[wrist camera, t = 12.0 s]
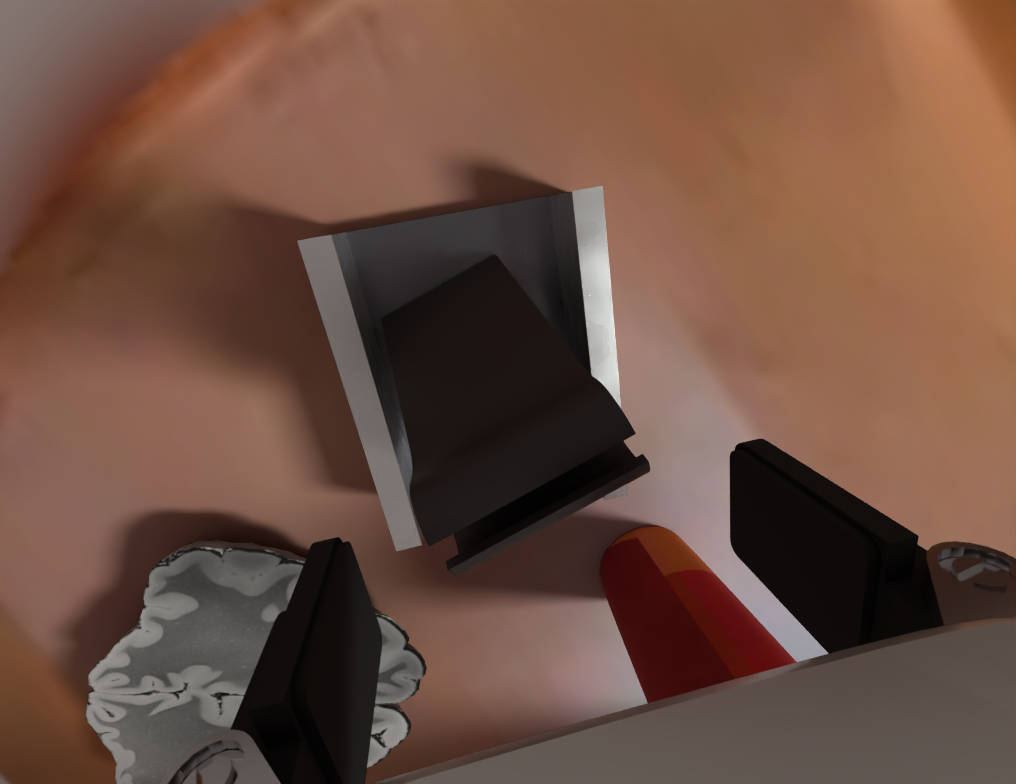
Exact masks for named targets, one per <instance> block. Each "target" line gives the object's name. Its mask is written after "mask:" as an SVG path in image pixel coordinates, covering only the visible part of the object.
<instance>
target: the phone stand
mask: <svg viewBox="0 0 1016 784" xmlns="http://www.w3.org/2000/svg"><path fill="white" fill-rule="evenodd" d="M381 322H382V327H383V331H384V336H385V340H386V345H387V349H388V354H389V358H390V363H391V367H392V372H393V376H394V381H395V385H396V389H397V394H398V398H399V403H400V407H401V412H402V416H403V421H404V425H405V430H406V434H407V439H408V443H409V448H410V452H411V458H412V478H411V481H410V486H409V491H410V499H411V503H412V507H413V510H414V514H415V516H416V519H417V522H418V524H419V527H420V529H421V531H422V533H423V535H424V537H425V539H426V541H427V543H428V545H429V546H431V545H433V544H435V543H437V542H439V541H441V540H442V539H444V538H446V537H448V536H450V535H452V534H454V536H455V540H456V543H457V547H458V555H456V556H454V557H453V558H451V559H449V560H447V561H446V565H447V569H448V571H449V572H450V573H452V574H454V575H461V574H462V573H464V572H466V571H468V570H470V569H472V568H473V567H475V566H477V565H479V564H481V563H483V562H484V561H486V560H488V559H490V558H492V557H494V556H495V555H497V554H499V553H501V552H503V551H505V550H507V549H508V548H510V547H512V546H514V545H516V544H518V543H519V542H521V541H523V540H525V539H527V538H529V537H530V536H532V535H534V534H536V533H538V532H540V531H541V530H543V529H545V528H547V527H549V526H551V525H552V524H554V523H556V522H558V521H560V520H562V519H563V518H565V517H567V516H569V515H571V514H573V513H574V512H576V511H578V510H580V509H582V508H584V507H586V506H587V505H589V504H591V503H593V502H595V501H597V500H598V499H600V498H602V497H604V496H606V495H608V494H609V493H611V492H613V491H615V490H617V489H619V488H620V487H622V486H624V485H626V484H628V483H630V482H631V481H633V480H635V479H637V478H639V477H641V476H642V475H644V474H646V473H648V472H650V465H649V462H648V460H647V459H646V458H645V456H644V455H643V454H641V455H640V456H638V457H635V456H634V455H633V454H632V452H631V451H630V450H629V448H628V447H627V446H626V444H625V443H624V440H625V439H627V438H629V437H631V436H633V435H634V434H636V433H635V431H634V430H633V428H632V426H631V424H630V423H629V421H628V419H627V418H626V416H625V414H624V413H623V411H622V410H621V408H620V407H619V405H618V404H617V402H616V401H615V399H614V398H613V396H612V395H611V394H610V392H609V391H608V390H607V389H606V387H605V386H604V385H603V384H602V383H601V382H600V381H599V380H597V379H596V378H594V377H593V376H592V375H591V374H589V373H588V372H587V371H586V369H585V368H584V367H583V366H582V365H581V364H580V362H579V361H578V360H577V359H576V357H575V356H574V355H573V354H572V352H571V351H570V350H569V348H568V347H567V346H566V344H565V343H564V342H563V341H562V339H561V338H560V337H559V335H558V334H557V333H556V331H555V330H554V329H553V328H552V326H551V325H550V324H549V322H548V321H547V320H546V319H545V317H544V316H543V315H542V313H541V312H540V311H539V309H538V308H537V307H536V306H535V304H534V303H533V302H532V300H531V299H530V298H529V296H528V295H527V294H526V293H525V291H524V290H523V289H522V287H521V286H520V285H519V284H518V282H517V281H516V280H515V278H514V277H513V276H512V274H511V273H510V272H509V271H508V269H507V268H506V267H505V265H504V264H503V263H502V261H501V260H500V259H499V258H498V256H497V255H494V256H492V257H491V258H489V259H487V260H485V261H483V262H482V263H480V264H478V265H476V266H474V267H473V268H471V269H469V270H467V271H466V272H464V273H462V274H460V275H458V276H457V277H455V278H453V279H451V280H450V281H448V282H446V283H444V284H442V285H441V286H439V287H437V288H435V289H434V290H432V291H430V292H428V293H426V294H425V295H423V296H421V297H419V298H417V299H416V300H414V301H412V302H410V303H409V304H407V305H405V306H403V307H401V308H400V309H398V310H396V311H394V312H393V313H391V314H389V315H387V316H385V317H384V318H382V319H381Z"/></svg>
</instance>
